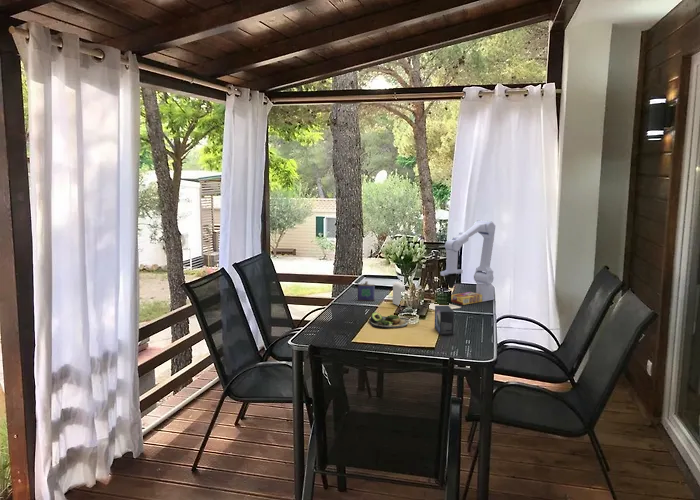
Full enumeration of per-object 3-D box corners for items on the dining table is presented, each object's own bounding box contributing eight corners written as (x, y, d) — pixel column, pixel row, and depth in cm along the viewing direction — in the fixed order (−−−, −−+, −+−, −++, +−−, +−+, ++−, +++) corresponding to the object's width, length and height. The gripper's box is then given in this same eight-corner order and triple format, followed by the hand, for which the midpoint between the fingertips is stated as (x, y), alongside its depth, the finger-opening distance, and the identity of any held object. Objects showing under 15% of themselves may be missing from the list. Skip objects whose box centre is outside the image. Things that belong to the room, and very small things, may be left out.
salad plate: (403, 318, 261) (404, 308, 261) (416, 328, 244) (416, 318, 244) (365, 319, 257) (365, 310, 256) (375, 330, 240) (375, 320, 239)
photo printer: (391, 303, 289) (392, 280, 287) (398, 302, 291) (398, 280, 289) (401, 307, 280) (402, 284, 278) (408, 307, 282) (409, 283, 280)
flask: (374, 300, 296) (374, 280, 294) (374, 301, 293) (374, 281, 292) (357, 299, 296) (357, 280, 295) (357, 300, 294) (357, 281, 292)
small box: (433, 327, 244) (434, 305, 242) (447, 327, 245) (448, 305, 243) (439, 334, 234) (440, 311, 232) (453, 334, 234) (454, 311, 233)
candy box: (462, 305, 287) (482, 301, 295) (463, 298, 286) (482, 294, 294) (450, 302, 294) (470, 298, 302) (450, 294, 293) (470, 291, 302)
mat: (442, 302, 293) (442, 301, 293) (461, 307, 282) (461, 306, 281) (420, 305, 284) (420, 305, 284) (438, 311, 273) (438, 310, 273)
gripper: (456, 260, 291) (455, 285, 293) (436, 262, 283) (435, 287, 285) (465, 262, 285) (464, 287, 287) (446, 264, 277) (445, 290, 279)
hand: (450, 287), depth 285 cm, fingers closed
